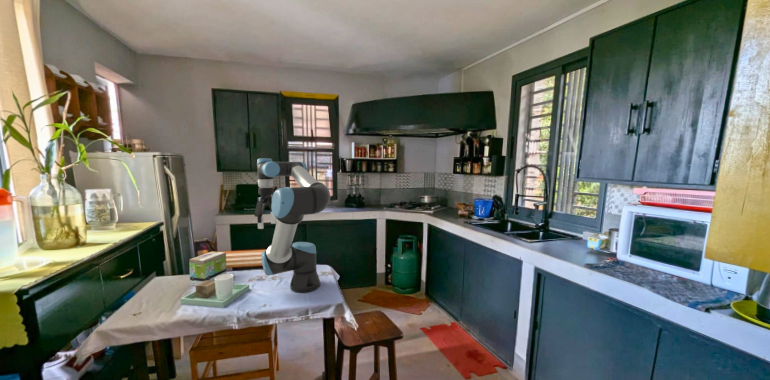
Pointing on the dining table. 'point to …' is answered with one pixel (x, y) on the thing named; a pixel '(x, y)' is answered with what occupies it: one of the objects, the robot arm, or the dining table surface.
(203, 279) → the tea box
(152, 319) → the dining table surface
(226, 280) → the white cup
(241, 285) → the mint green serving tray
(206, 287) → the walnut block
